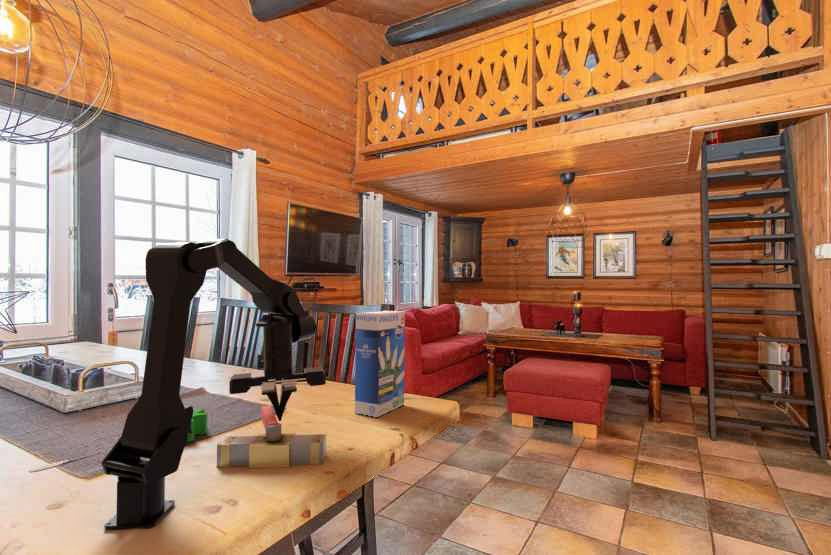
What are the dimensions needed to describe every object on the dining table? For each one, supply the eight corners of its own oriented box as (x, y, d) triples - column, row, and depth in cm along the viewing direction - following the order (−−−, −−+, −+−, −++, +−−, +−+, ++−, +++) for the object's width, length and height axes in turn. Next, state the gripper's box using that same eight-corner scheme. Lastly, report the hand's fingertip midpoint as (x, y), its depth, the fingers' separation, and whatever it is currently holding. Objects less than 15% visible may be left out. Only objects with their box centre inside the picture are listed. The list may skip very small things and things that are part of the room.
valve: (322, 466, 78) (322, 444, 78) (214, 469, 76) (214, 446, 76) (326, 453, 84) (326, 432, 84) (226, 455, 82) (226, 434, 82)
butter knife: (26, 467, 76) (30, 470, 74) (184, 428, 97) (190, 430, 95) (26, 470, 76) (30, 474, 74) (184, 430, 97) (190, 432, 95)
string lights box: (377, 418, 105) (378, 313, 105) (352, 413, 109) (353, 312, 109) (405, 405, 116) (406, 310, 116) (382, 401, 120) (383, 309, 120)
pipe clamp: (182, 448, 86) (182, 426, 86) (165, 447, 86) (165, 425, 86) (215, 429, 97) (215, 408, 97) (199, 428, 97) (199, 408, 97)
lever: (282, 439, 79) (282, 425, 79) (266, 442, 78) (266, 427, 78) (272, 417, 92) (272, 405, 92) (258, 418, 91) (258, 406, 91)
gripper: (319, 338, 100) (320, 404, 100) (232, 343, 94) (234, 414, 94) (325, 345, 89) (326, 419, 89) (228, 352, 83) (230, 432, 83)
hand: (279, 420), depth 89 cm, fingers closed
